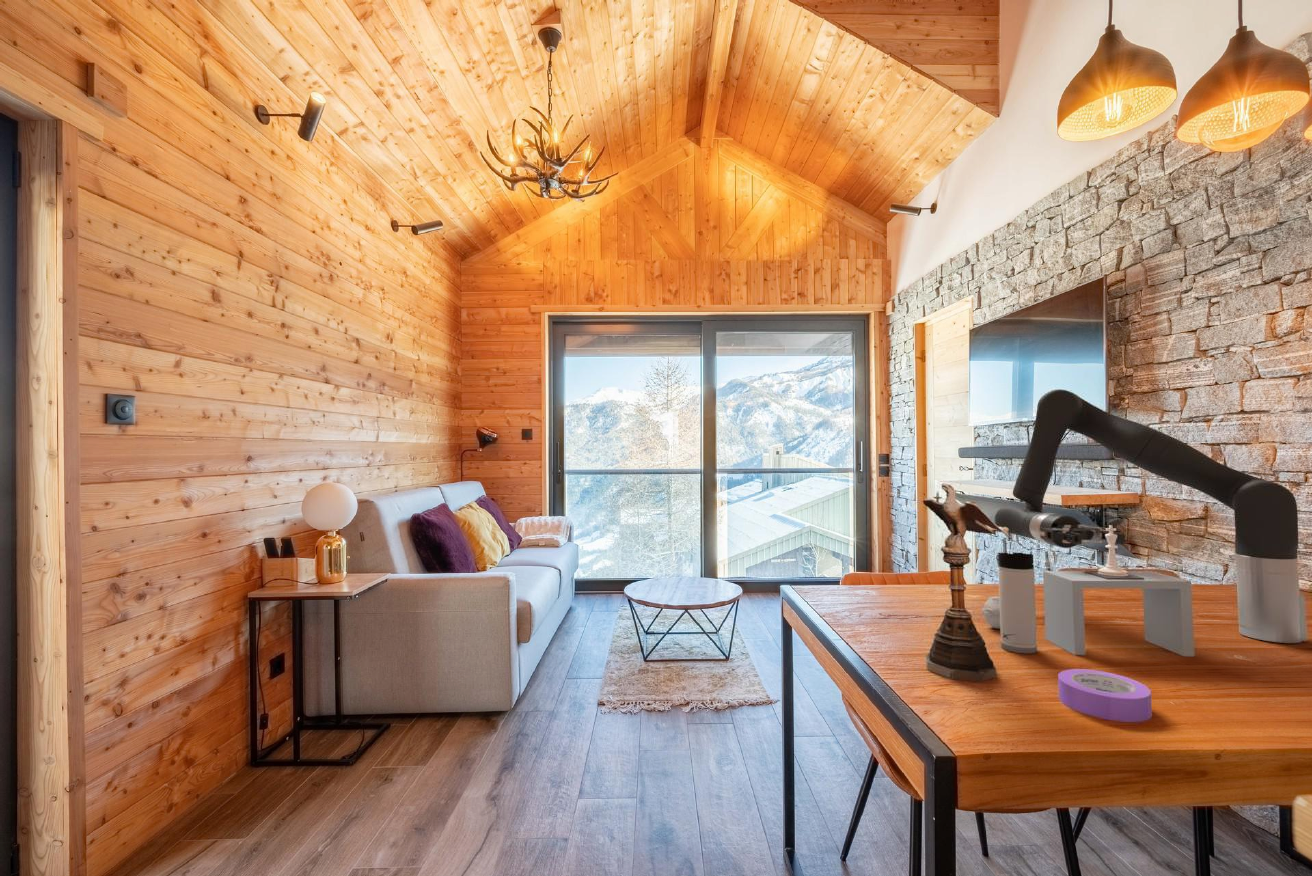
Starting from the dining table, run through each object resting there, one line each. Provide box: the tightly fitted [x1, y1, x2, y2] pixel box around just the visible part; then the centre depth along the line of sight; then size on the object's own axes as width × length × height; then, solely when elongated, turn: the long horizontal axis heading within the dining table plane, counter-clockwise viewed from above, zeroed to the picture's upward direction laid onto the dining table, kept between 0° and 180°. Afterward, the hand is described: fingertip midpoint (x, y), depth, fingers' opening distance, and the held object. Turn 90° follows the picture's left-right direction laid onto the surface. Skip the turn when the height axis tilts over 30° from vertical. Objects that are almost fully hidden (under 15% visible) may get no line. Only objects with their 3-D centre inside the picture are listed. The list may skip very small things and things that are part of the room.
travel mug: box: [997, 551, 1038, 655], centre depth 119 cm, size 6×7×20 cm
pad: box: [1083, 570, 1144, 580], centre depth 120 cm, size 7×7×1 cm
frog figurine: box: [981, 596, 1000, 630], centre depth 134 cm, size 6×7×7 cm
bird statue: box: [922, 483, 1012, 682], centre depth 111 cm, size 17×13×35 cm
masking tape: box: [1057, 668, 1153, 723], centre depth 92 cm, size 12×12×4 cm
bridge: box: [1042, 570, 1195, 657], centre depth 120 cm, size 22×10×14 cm, turn 85°
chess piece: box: [1097, 524, 1128, 577], centre depth 120 cm, size 5×5×10 cm
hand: (1101, 539), depth 123 cm, fingers open, 8 cm apart
